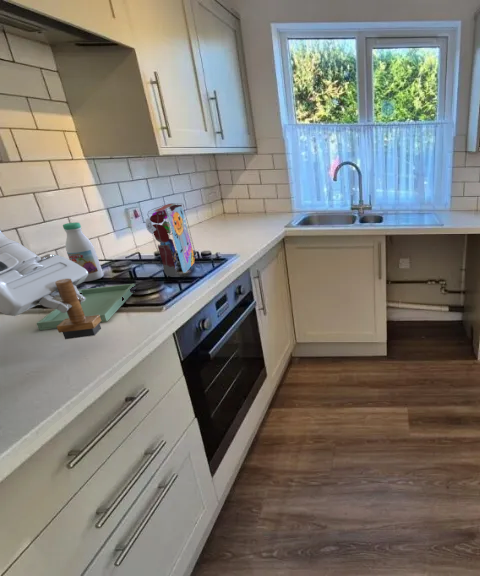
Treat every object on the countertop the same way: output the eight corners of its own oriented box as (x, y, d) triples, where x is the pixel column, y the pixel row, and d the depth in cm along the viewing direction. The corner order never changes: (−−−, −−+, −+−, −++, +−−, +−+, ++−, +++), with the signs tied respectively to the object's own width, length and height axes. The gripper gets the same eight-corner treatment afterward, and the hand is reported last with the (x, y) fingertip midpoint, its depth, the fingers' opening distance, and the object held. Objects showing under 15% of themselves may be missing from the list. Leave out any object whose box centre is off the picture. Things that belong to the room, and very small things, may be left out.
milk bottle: (85, 275, 133) (65, 221, 125) (108, 273, 134) (90, 220, 126) (72, 283, 126) (50, 226, 118) (97, 281, 127) (77, 225, 119)
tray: (39, 330, 95) (35, 323, 94) (81, 295, 116) (79, 289, 115) (107, 321, 99) (104, 314, 98) (136, 289, 120) (134, 283, 119)
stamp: (62, 340, 83) (39, 286, 78) (70, 331, 87) (49, 279, 81) (97, 335, 85) (77, 282, 80) (104, 327, 88) (85, 276, 83)
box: (174, 290, 118) (154, 216, 108) (154, 292, 117) (132, 217, 107) (198, 265, 140) (183, 202, 131) (182, 266, 140) (165, 203, 130)
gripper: (47, 261, 89) (100, 296, 93) (-40, 294, 70) (31, 337, 74) (59, 243, 88) (112, 279, 92) (-27, 273, 69) (45, 317, 73)
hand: (75, 305), depth 83 cm, fingers closed on stamp, 3 cm apart
